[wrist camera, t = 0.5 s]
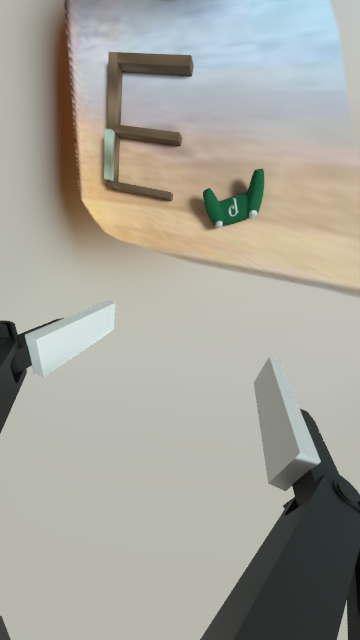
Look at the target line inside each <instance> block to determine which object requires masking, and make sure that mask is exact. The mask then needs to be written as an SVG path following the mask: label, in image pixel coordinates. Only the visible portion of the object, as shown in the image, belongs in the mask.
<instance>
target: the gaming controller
mask: <svg viewBox="0 0 360 640" xmlns="http://www.w3.org/2000/svg"><path fill="white" fill-rule="evenodd" d="M263 190H264V171H263V169H257V170H255V171H254V173H253V176H252V179H251V182H250V186H249V189H248V191H247V192H246V193H243V194H240V195H237V196H234V197H231V198H229V199H226V200H223V201H218V200H217V198H216V196H215V195H214V193H213V191H212V190H211V189H210V188H208V189H206V190H205V191H204V192H203V198H204V203H205V207H206V210H207V213H208V215H209V218H210V220H211V221H212V223H213V225H214V226H215V227H216V228H220V227H223V226H224V225H230V224H234V223H237V222H240V221H243V220H246V219H247V218H249V219H250V218H253V217H255V216H256V215H257V214H258V212H259V209H260V205H261V202H262V197H263Z"/></svg>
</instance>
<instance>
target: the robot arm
mask: <svg viewBox="0 0 360 640" xmlns="http://www.w3.org/2000/svg"><path fill="white" fill-rule="evenodd" d="M114 320H115V303H114V302H112V301H109V300H107V301H105V302H102V303H100V304H97V305H95V306H93V307H90V308H88V309H85V310H83V311H81V312H78V313H76V314H73V315H71V316H69V317H66V318H62V319H57V320H54V321H51V322H49V323H48V324H47V323H46V324H44V325H42V326H39V327H36V328H34V329H31V330H29V331H26V332H24V333H22V334H19V335H17V331H16V327H15V324H14V323H13V322H10V321H0V433H1V430H2V428H3V426H4V424H5V421H6V419H7V417H8V415H9V412H10V410H11V408H12V405H13V403H14V401H15V399H16V396H17V394H18V392H19V389H20V387H21V385H22V383H23V380H24V378H25V376H26V372H27V370H26V368H28V367H29V366H31V365H32V368H33V372H34V373H35V374H37V375H40V376H42V377H45V376H47V375H48V374H50V373H51V372H52V371H54V370H55V369H57V368H58V367H60V366H61V365H63V364H64V363H66V362H67V361H69V360H70V359H71V358H73V357H74V356H76V355H77V354H79V353H80V352H82V351H83V350H85V349H86V348H88V347H89V346H91V345H92V344H93V343H95V342H96V341H98V340H99V339H101V338H102V337H104V336H105V335H107V334H108V333H110V332H111V331H113V330H114ZM254 387H255V394H256V400H257V407H258V414H259V421H260V428H261V435H262V442H263V449H264V456H265V463H266V469H267V477H268V483H269V484H271V485H273V486H275V487H277V488H280V489H282V490H284V491H286V490H287V489H289V488H290V487H291V486H293V490H294V494H295V497H294V498H293V499H291V500H290V501H289V502H287V503H286V504H285V505H283V507H284V508H285V510H284V511H283V513H282V515H281V516H280V518H279V519H278V521H277V522H276V524H275V525H274V527H273V528H272V530H271V532H270V533H269V535H268V536H267V538H266V539H265V541H264V542H263V544H262V545H261V547H260V548H259V550H258V552H257V553H256V555H255V556H254V558H253V559H252V561H251V563H250V564H249V566H248V567H247V569H246V570H245V572H244V573H243V575H242V576H241V578H240V579H239V581H238V582H237V584H236V586H235V587H234V589H233V590H232V592H231V593H230V595H229V596H228V598H227V599H226V601H225V602H224V604H223V605H222V607H221V609H220V610H219V612H218V613H217V615H216V616H215V618H214V619H213V621H212V622H211V624H210V625H209V627H208V629H207V630H206V632H205V633H204V635H203V637H202V638H201V639H200V640H337V636H338V632H339V628H340V624H341V620H342V616H343V612H344V608H345V604H346V600H347V618H348V619H347V620H348V640H360V495H359V493H358V492H357V490H356V489H355V488H354V487H353V486H352V485H351V484H350V483H349V482H348V481H347V480H345V479H344V478H343V477H342V476H340V475H339V473H338V471H337V469H336V466H335V464H334V462H333V460H332V458H331V456H330V453H329V451H328V449H327V447H326V445H325V442H324V441H323V438H322V436H321V434H320V433H319V430H318V427H317V425H316V423H315V421H314V420H313V418H312V417H311V416H310V415H309V413H308V412H307V411H304V410H301V409H300V408H299V406H298V404H297V401H296V399H295V396H294V394H293V391H292V389H291V386H290V384H289V381H288V379H287V376H286V374H285V372H284V369H283V366H282V364H281V361H280V360H278V359H275V358H272V357H269V358H268V360H267V361H266V363H265V365H264V366H263V368H262V370H261V372H260V373H259V375H258V377H257V379H256V380H255V382H254ZM0 640H10V637H9V635H8V632H7V629H6V627H5V624H4V622H3V619H2V617H1V616H0Z"/></svg>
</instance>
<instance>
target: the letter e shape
mask: <svg viewBox="0 0 360 640" xmlns="http://www.w3.org/2000/svg"><path fill="white" fill-rule="evenodd" d="M122 71H123V72H139V73H154V74H170V75H186V76H192V72H193V61H192V57H191V55H167V54H143V53H120V52H109V66H108V129H105V128H104V179H106V180H107V187H109V188H111V189H116V190H121V191H126V192H131V193H136V194H141V195H146V196H151V197H156V198H161V199H166V200H171V201H172V198H173V194H172V193H171V192H167V191H162V190H156V189H151V188H146V187H141V186H136V185H130V184H125V183H120V182H118V172H119V147H120V137H121V138H128V139H136V140H143V141H150V142H157V143H164V144H171V145H178V146H181V141H182V137H181V135H180V133H179V132H171V131H163V130H155V129H147V128H139V127H131V126H123V125H120V122H121V97H122Z"/></svg>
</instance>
